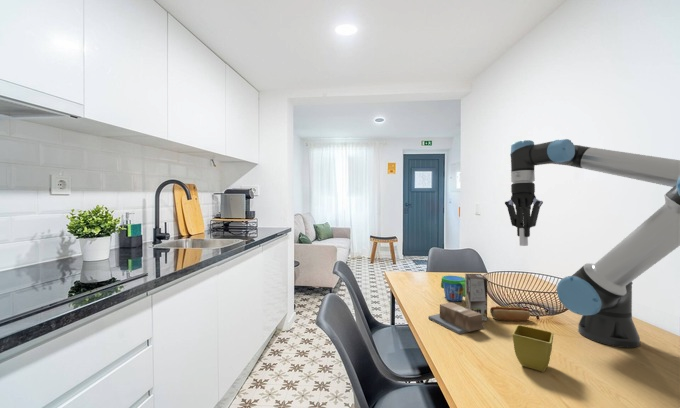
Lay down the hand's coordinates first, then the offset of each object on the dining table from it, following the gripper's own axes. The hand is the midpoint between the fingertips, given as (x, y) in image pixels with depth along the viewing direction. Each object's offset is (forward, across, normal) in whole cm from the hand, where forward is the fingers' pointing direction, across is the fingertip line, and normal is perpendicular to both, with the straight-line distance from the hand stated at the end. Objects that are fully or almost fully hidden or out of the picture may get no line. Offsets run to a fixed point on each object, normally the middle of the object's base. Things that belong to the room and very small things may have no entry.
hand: (523, 245), depth 109 cm
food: (+30, -5, -1) cm, 30 cm away
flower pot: (+30, +18, -27) cm, 44 cm away
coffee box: (+29, -14, -10) cm, 34 cm away
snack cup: (+29, -32, -1) cm, 43 cm away
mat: (+29, -13, -23) cm, 39 cm away
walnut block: (+26, -3, -23) cm, 35 cm away
